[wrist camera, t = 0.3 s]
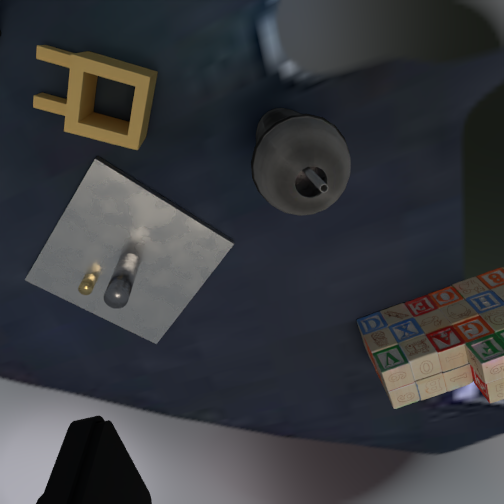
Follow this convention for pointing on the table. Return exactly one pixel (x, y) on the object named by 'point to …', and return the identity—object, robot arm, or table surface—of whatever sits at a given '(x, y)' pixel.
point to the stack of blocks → (441, 341)
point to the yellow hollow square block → (83, 96)
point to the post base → (128, 253)
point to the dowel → (87, 284)
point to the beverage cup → (299, 161)
